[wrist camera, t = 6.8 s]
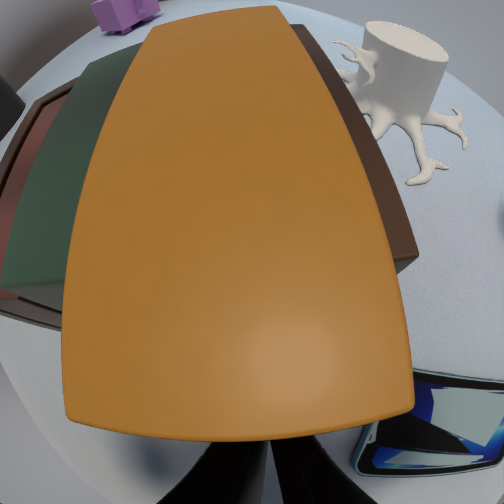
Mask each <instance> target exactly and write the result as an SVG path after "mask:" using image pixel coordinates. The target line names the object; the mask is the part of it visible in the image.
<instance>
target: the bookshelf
mask: <svg viewBox="0 0 504 504" xmlns="http://www.w3.org/2000/svg"><path fill="white" fill-rule="evenodd" d="M290 26H291V27H292V29H293V30H294V32H295V33H296V35H297V37H298V38H299V40H300V41H301V43H302V44H303V46H304V48H305V49H306V51H307V53H308V54H309V56H310V58H311V59H312V61H313V63H314V64H315V66H316V68H317V70H318V72H319V73H320V75H321V77H322V79H323V81H324V82H325V84H326V86H327V88H328V90H329V92H330V94H331V96H332V98H333V100H334V102H335V104H336V106H337V108H338V110H339V112H340V114H341V116H342V118H343V120H344V123H345V125H346V127H347V129H348V131H349V134H350V136H351V138H352V140H353V143H354V145H355V148H356V150H357V152H358V155H359V157H360V160H361V162H362V165H363V167H364V170H365V173H366V175H367V178H368V181H369V183H370V186H371V189H372V192H373V195H374V198H375V200H376V203H377V206H378V210H379V213H380V216H381V219H382V222H383V226H384V229H385V232H386V236H387V239H388V243H389V246H390V250H391V254H392V258H393V262H394V266H395V270H396V274H398V273H400V272H401V271H402V270H403V269H405V268H406V267H407V266H408V265H409V264H411V263H412V262H413V261H414V260H415V259H417V258H418V257H419V252H418V248H417V245H416V241H415V238H414V235H413V232H412V229H411V226H410V223H409V220H408V217H407V214H406V211H405V208H404V205H403V203H402V200H401V197H400V195H399V192H398V190H397V187H396V185H395V182H394V180H393V177H392V175H391V172H390V170H389V168H388V166H387V163H386V161H385V159H384V157H383V154H382V152H381V150H380V148H379V146H378V144H377V142H376V140H375V138H374V136H373V134H372V132H371V130H370V128H369V126H368V124H367V122H366V120H365V118H364V116H363V114H362V112H361V111H360V109H359V107H358V105H357V104H356V102H355V100H354V98H353V97H352V95H351V93H350V91H349V90H348V88H347V86H346V85H345V83H344V82H343V80H342V78H341V77H340V75H339V74H338V72H337V71H336V69H335V68H334V66H333V65H332V63H331V62H330V60H329V59H328V57H327V56H326V54H325V53H324V51H323V50H322V49H321V47H320V46H319V44H318V43H317V42H316V40H315V39H314V38H313V36H312V35H311V34H310V32H309V31H308V30H307V29H306V27H305V26H304V25H303V24H290ZM142 44H143V42H141V43H138V44H136V45H133V46H130V47H127V48H125V49H122V50H119V51H117V52H114V53H112V54H110V55H107V56H105V57H103V58H100V59H98V60H96V61H94V62H91V63H89V64H88V66H87V67H86V69H85V70H84V71H83V73H82V74H81V76H79V77H77V78H75V79H73V80H71V81H69V82H67V83H66V84H64V85H62V86H60V87H58V88H56V89H55V90H53V91H51V92H49V93H48V94H46V95H44V96H43V97H41V98H39V99H38V100H36V101H35V102H34V103H33V105H32V106H31V108H30V109H29V111H28V113H27V114H26V116H25V117H24V119H23V121H22V122H21V124H20V126H19V128H18V129H17V131H16V133H15V135H14V137H13V138H12V140H11V142H10V144H9V146H8V148H7V150H6V152H5V154H4V156H3V158H2V160H1V162H0V315H2V316H5V317H9V318H12V319H15V320H18V321H22V322H25V323H29V324H32V325H36V326H40V327H44V328H48V329H52V330H56V331H60V332H61V327H62V306H63V293H64V283H65V274H66V266H67V259H68V252H69V246H70V241H71V235H72V230H73V225H74V220H75V215H76V211H77V207H78V203H79V198H80V195H81V191H82V187H83V183H84V180H85V176H86V173H87V170H88V166H89V163H90V160H91V157H92V154H93V151H94V148H95V145H96V142H97V140H98V137H99V134H100V131H101V129H102V126H103V124H104V121H105V119H106V116H107V114H108V111H109V109H110V107H111V104H112V102H113V100H114V98H115V95H116V93H117V91H118V89H119V87H120V85H121V83H122V81H123V79H124V77H125V75H126V73H127V71H128V69H129V67H130V65H131V63H132V61H133V59H134V58H135V56H136V54H137V52H138V51H139V49H140V47H141V45H142Z"/></svg>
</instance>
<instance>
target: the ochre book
mask: <svg viewBox="0 0 504 504" xmlns="http://www.w3.org/2000/svg"><path fill="white" fill-rule="evenodd" d="M61 361H62V382H63V394H64V404H65V412H66V416H67V418H68V419H69V420H70V421H73V422H76V423H80V424H83V425H87V426H91V427H95V428H100V429H104V430H109V431H114V432H119V433H125V434H131V435H137V436H144V437H151V438H160V439H170V440H182V441H201V442H245V441H264V440H276V439H286V438H295V437H303V436H310V435H316V434H322V433H328V432H333V431H338V430H343V429H348V428H352V427H357V426H361V425H365V424H369V423H373V422H376V421H380V420H384V419H387V418H390V417H394V416H397V415H400V414H403V413H406V412H408V411H410V410H411V409H413V408H414V404H415V396H414V381H413V370H412V361H411V352H410V344H409V337H408V331H407V324H406V318H405V313H404V307H403V302H402V297H401V292H400V287H399V283H398V278H397V274H396V270H395V266H394V262H393V258H392V254H391V250H390V246H389V243H388V239H387V236H386V232H385V229H384V226H383V222H382V219H381V216H380V213H379V210H378V206H377V203H376V200H375V198H374V195H373V192H372V189H371V186H370V183H369V181H368V178H367V175H366V173H365V170H364V167H363V165H362V162H361V160H360V157H359V155H358V152H357V150H356V148H355V145H354V143H353V140H352V138H351V136H350V134H349V131H348V129H347V127H346V125H345V123H344V120H343V118H342V116H341V114H340V112H339V110H338V108H337V106H336V104H335V102H334V100H333V98H332V96H331V94H330V92H329V90H328V88H327V86H326V84H325V82H324V81H323V79H322V77H321V75H320V73H319V72H318V70H317V68H316V66H315V64H314V63H313V61H312V59H311V58H310V56H309V54H308V53H307V51H306V49H305V48H304V46H303V44H302V43H301V41H300V40H299V38H298V37H297V35H296V33H295V32H294V30H293V29H292V27H291V26H290V24H289V23H288V22H287V20H286V19H285V17H284V16H283V14H282V13H281V12H280V10H279V9H278V7H277V6H259V7H248V8H239V9H232V10H225V11H218V12H213V13H207V14H202V15H197V16H193V17H188V18H184V19H180V20H176V21H172V22H169V23H165V24H162V25H158V26H155V27H153V28H152V29H151V31H150V32H149V34H148V35H147V37H146V39H145V40H144V42H143V44H142V45H141V47H140V49H139V51H138V52H137V54H136V56H135V58H134V59H133V61H132V63H131V65H130V67H129V69H128V71H127V73H126V75H125V77H124V79H123V81H122V83H121V85H120V87H119V89H118V91H117V93H116V95H115V98H114V100H113V102H112V104H111V107H110V109H109V111H108V114H107V116H106V119H105V121H104V124H103V126H102V129H101V131H100V134H99V137H98V140H97V142H96V145H95V148H94V151H93V154H92V157H91V160H90V163H89V166H88V170H87V173H86V176H85V180H84V183H83V187H82V191H81V195H80V198H79V203H78V207H77V211H76V215H75V220H74V225H73V230H72V235H71V241H70V246H69V252H68V259H67V266H66V274H65V283H64V293H63V306H62V327H61Z"/></svg>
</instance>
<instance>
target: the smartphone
mask: <svg viewBox="0 0 504 504" xmlns="http://www.w3.org/2000/svg"><path fill="white" fill-rule="evenodd" d="M412 370H413V381H414V396H415V404H414V408H413V409H411V410H410V411H408V412H406V413H403V414H400V415H397V416H394V417H390V418H387V419H384V420H380V421H376V422H373V423H369V424H366V427H365V430H364V432H363V435H362V437H361V440H360V442H359V444H358V447H357V449H356V451H355V454H354V456H353V458H352V467H353V469H354V470H355V472H356V473H357V474H359V475H361V476H367V477H392V478H405V477H430V476H442V475H451V474H459V473H466V472H472V471H477V470H483V469H487V468H492V467H495V466H497V465H498V464H499V463H500V462H501V461H502V460H503V458H504V381H501V380H491V379H482V378H473V377H465V376H458V375H455V374H449V373H442V372H432V371H426V370H421V369H415V368H412Z"/></svg>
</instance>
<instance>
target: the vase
mask: <svg viewBox="0 0 504 504" xmlns="http://www.w3.org/2000/svg"><path fill="white" fill-rule="evenodd" d="M24 108H25V103H24V102H23V101H22V99H21V98H20V97H19V96H18V95H17V94H16V92H15V91H14V90H13V89H12V88H11V86H10V85H9V84H8V83H7V82H6V81H5V79H4V78H3V77H2V76H1V75H0V141H1V140H2V138H3V137H4V136H5V135H6V134H7V133H8V131H9V130H10V129H11V128H12V126H13V125H14V124H15V122H16V121H17V120H18V118H19V117H20V115H21V114H22V112H23V110H24Z"/></svg>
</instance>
